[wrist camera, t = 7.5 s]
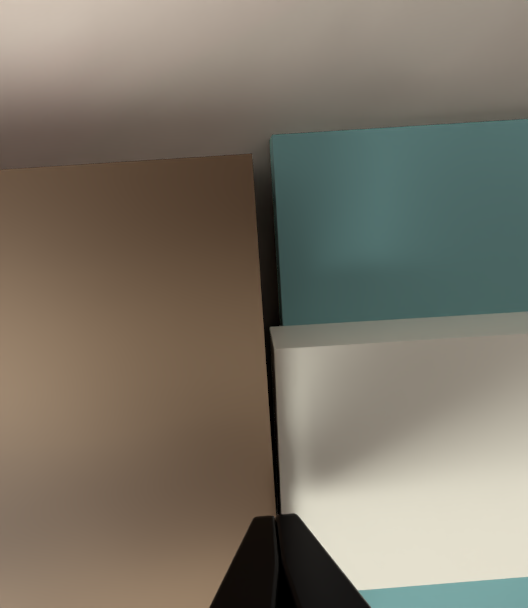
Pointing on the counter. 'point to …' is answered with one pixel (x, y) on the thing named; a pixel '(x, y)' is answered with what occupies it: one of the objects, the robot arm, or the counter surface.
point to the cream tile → (407, 445)
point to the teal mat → (405, 250)
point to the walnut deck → (130, 382)
